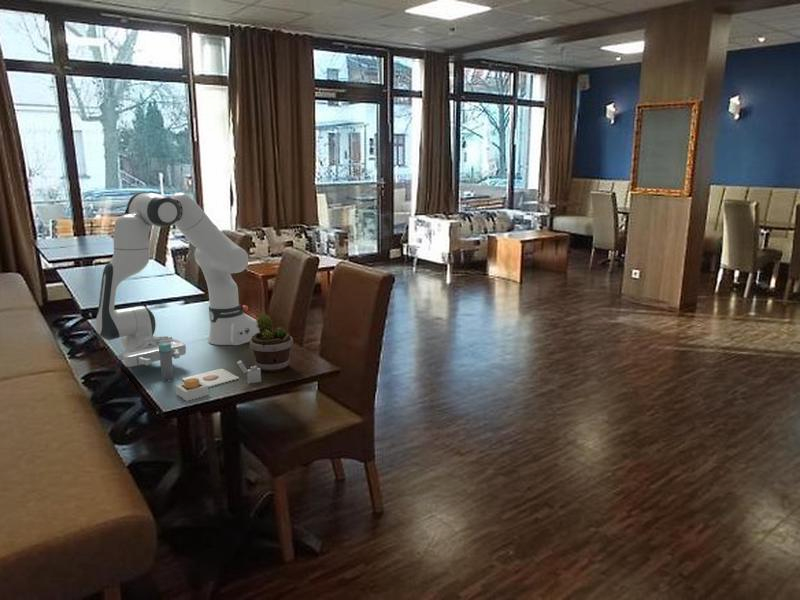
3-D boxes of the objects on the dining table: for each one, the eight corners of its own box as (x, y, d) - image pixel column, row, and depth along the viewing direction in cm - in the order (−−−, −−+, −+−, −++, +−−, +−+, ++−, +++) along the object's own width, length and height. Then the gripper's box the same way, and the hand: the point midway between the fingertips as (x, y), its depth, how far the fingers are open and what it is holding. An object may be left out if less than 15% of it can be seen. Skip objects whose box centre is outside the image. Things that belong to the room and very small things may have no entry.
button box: (198, 388, 184) (197, 379, 183) (208, 395, 179) (207, 385, 178) (176, 394, 179) (175, 385, 178) (186, 401, 174) (185, 391, 174)
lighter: (259, 379, 192) (258, 356, 190) (261, 381, 190) (260, 358, 188) (238, 383, 188) (236, 360, 186) (239, 385, 187) (238, 361, 185)
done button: (195, 383, 182) (195, 377, 181) (202, 387, 178) (201, 380, 178) (181, 386, 179) (181, 380, 178) (188, 390, 175) (187, 384, 175)
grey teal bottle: (171, 376, 194) (168, 342, 191) (176, 379, 192) (173, 344, 189) (159, 379, 192) (156, 344, 189) (164, 382, 189) (161, 347, 186)
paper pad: (221, 370, 200) (221, 368, 200) (239, 379, 192) (239, 377, 192) (182, 380, 191) (181, 378, 191) (198, 390, 183) (198, 388, 182)
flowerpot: (303, 367, 203) (301, 312, 198) (264, 378, 193) (261, 320, 188) (279, 357, 213) (277, 304, 209) (242, 367, 203) (238, 312, 198)
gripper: (114, 347, 193) (129, 357, 184) (174, 335, 207) (192, 343, 197) (116, 365, 195) (131, 376, 185) (176, 351, 209) (193, 361, 199)
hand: (163, 359), depth 191 cm, fingers open, 8 cm apart
